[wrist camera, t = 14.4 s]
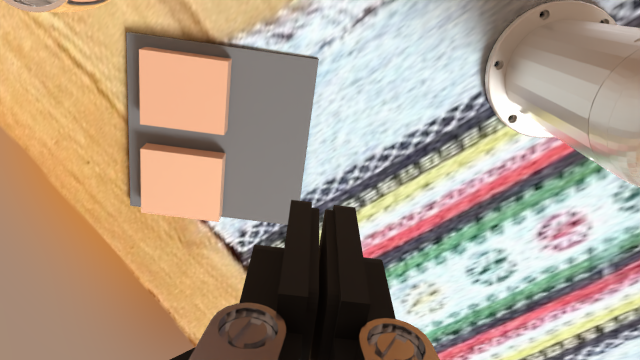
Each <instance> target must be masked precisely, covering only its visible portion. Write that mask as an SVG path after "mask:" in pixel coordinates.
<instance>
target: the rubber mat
mask: <svg viewBox="0 0 640 360" xmlns="http://www.w3.org/2000/svg"><path fill="white" fill-rule="evenodd" d="M126 40H127V82H128V125H129V168H130V206H138V207H141V160H140V149H141V148H142V147H143V146H144V145H145V144H146V143H150V144H158V145H166V146H174V147H182V148H189V149H197V150H205V151H213V152H220V153H226V160H225V176H224V192H223V209H222V215H221V217H229V218H237V219H245V220H253V221H262V222H270V223H278V224H286V225H288V219H289V212H290V204H291V200H298V201H300V195H301V187H302V180H303V172H304V165H305V157H306V150H307V142H308V135H309V127H310V120H311V112H312V105H313V97H314V90H315V82H316V75H317V67H318V60H319V59H314V58H307V57H300V56H293V55H286V54H279V53H272V52H266V51H259V50H252V49H245V48H238V47H231V46H224V45H217V44H210V43H203V42H196V41H189V40H182V39H175V38H168V37H161V36H154V35H147V34H140V33H133V32H126ZM144 47H151V48H158V49H165V50H172V51H180V52H187V53H194V54H201V55H208V56H215V57H223V58H230V59H232V64H231V80H230V97H229V113H228V129H227V131H226V133H225V134H224V135H219V134H211V133H204V132H196V131H188V130H181V129H173V128H165V127H158V126H150V125H142V124H140V85H139V49H141V48H144Z"/></svg>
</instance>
